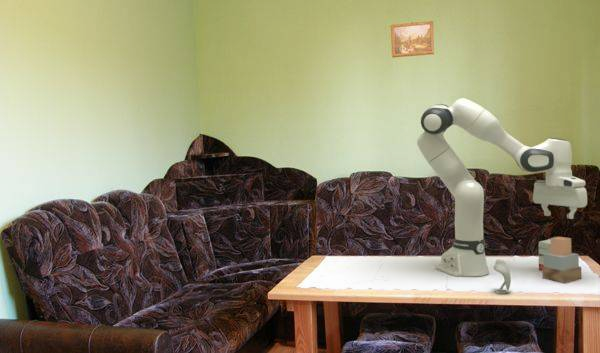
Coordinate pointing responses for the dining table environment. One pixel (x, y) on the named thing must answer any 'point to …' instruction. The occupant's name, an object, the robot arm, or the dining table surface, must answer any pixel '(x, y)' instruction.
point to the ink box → (543, 251)
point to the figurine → (503, 269)
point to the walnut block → (561, 275)
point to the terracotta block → (560, 246)
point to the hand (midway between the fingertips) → (558, 217)
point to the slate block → (561, 261)
